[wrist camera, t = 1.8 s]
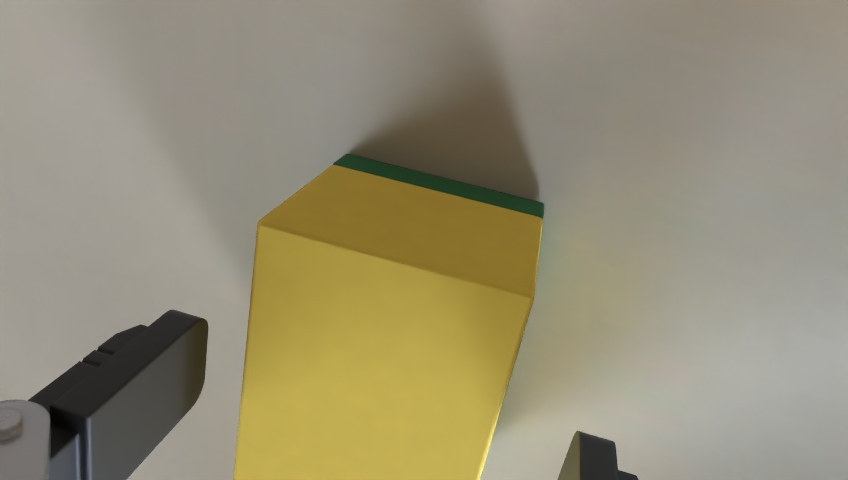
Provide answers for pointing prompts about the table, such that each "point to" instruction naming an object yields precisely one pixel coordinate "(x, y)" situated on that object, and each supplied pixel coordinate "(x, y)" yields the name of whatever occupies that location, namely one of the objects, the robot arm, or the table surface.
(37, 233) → the table surface
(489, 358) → the sponge
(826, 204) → the table surface
